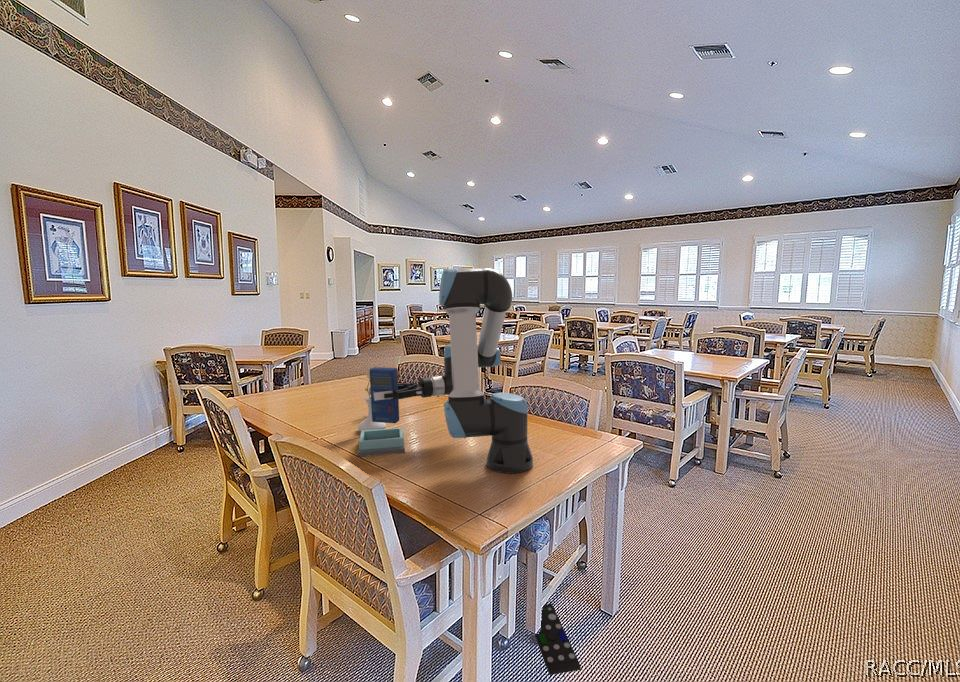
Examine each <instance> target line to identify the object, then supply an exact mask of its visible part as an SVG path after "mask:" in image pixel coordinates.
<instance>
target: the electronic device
mask: <svg viewBox="0 0 960 682" xmlns="http://www.w3.org/2000/svg"><path fill="white" fill-rule="evenodd" d="M369 371H370V379H369V380H370V382H369V385H370V386H369V387H370V389H371V395H370V396H371V408H372V422H383V423H385V424H396V423H398V422H399V421H400V405H399V404H400V402H399V400H400V399H399V400H397V399H394V398H392V399H384V400H376V401H375V400H374V393H376V392H384V391H393V389H395V390H396V391H397V390H398V383H399V382H398V379H399V378H398V368H397V367H382V366H381V367H379V366H377V367H376V366H374V367H371V368H369Z"/></svg>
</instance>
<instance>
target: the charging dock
mask: <svg viewBox="0 0 960 682" xmlns="http://www.w3.org/2000/svg"><path fill="white" fill-rule="evenodd" d="M403 429H404V428H403V427H392V428H391V427H389V428H385V429H377V430H364V431H360V436H359V440H358V444H359V445H358V446H359V447H358V453H357V454H358V457H359V458H361V457H370V456H380V455H382V456H383V455H393V454H402V453H403V454H404V453H405V452H406V447H405V436H404V430H403Z"/></svg>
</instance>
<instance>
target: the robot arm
mask: <svg viewBox="0 0 960 682" xmlns="http://www.w3.org/2000/svg"><path fill="white" fill-rule="evenodd" d="M512 290H513V289H512V287H511V285H510V283H509V280H507V278H506V277H505V276H504V274H502V273H501V272H500V271H498V270H497V269H494V268H489V267H483V268H476V267H474V268H471V267H469V268H468V267H467V268H466V267H455V268H447V269H444V270H443V272H442V273H441V277H440V284H439V292H438V293H439V295H438V298H439V299H438V304H439V305H440V306H442V307H443V309H444V310H443V311H444V312H445V313H446V314H447V315H448V317H449V321H448V322H449V336H450V337H449V338H450V341H449V342H450V343H449V344H446V345H445V346H444V349H443V350H444V351H443V364H444V365H443V366H444V369H443V370H444V375H435V376H430V377H429V376H428V377H421V378H419V380H418V383H416V382H412V381H408V382H407V381H406V382H398V390H397V391H396V390H395V389H393V391H384V392H376V393H374V400H375V401H376V400H384V399H392V398H394V399H397V400H402V399H408V398H409V399H410V398H413V397H421V398H422V399H423V398H432V397H437V398H440V396H446V395H447V396H448V400H447V401H445V402H444V403H443V411H444V417H445V422H446V427H447V430H448V433H449V435H450V437H452V438H453V439H466V438H476V437H477V438H478V437H479V438H481V437H490V436H491V443H490V446H489V449H488V452H487V455H486V466H487V467H488V468H489V469H490V470H492V471H494V472H498V473H503V474H517V473H523V472H526V471H528V470H530V469H532V467H533V465H534V457H533V455H532V451H531V448H530V445H529V442H528V414H529V411H528V402H527V400H526V398H524V397H523V396H521V395H518V394H515V393H511V392H494V393H492V394H491V395H490V398H486V399H485V396H486V395H485V393H484V392H483V391H482V390H481V388H480V377H479V376H480V375H479V372H480V371H479V368H492V367H498V366H500V364H501V361H502V359H501V357H502V355H501V354H502V353H501V350H500V348H498V346H499V342H500V339H501V335H502V329H503V325H504V322H505V318H506V314H507V311H509V310H510V308H511V306H512V302H513V301H512V300H513V292H512ZM481 305H483V306H484V311H483V317H482V322H481V326H480V333H479V337H478V335H477V334H478V333H477V317H476V315H477V314H478V312H480V310H481ZM478 338H479V339H478ZM368 391H369V394H368V396H369V395H370V396H371V389H370V386H368Z"/></svg>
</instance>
